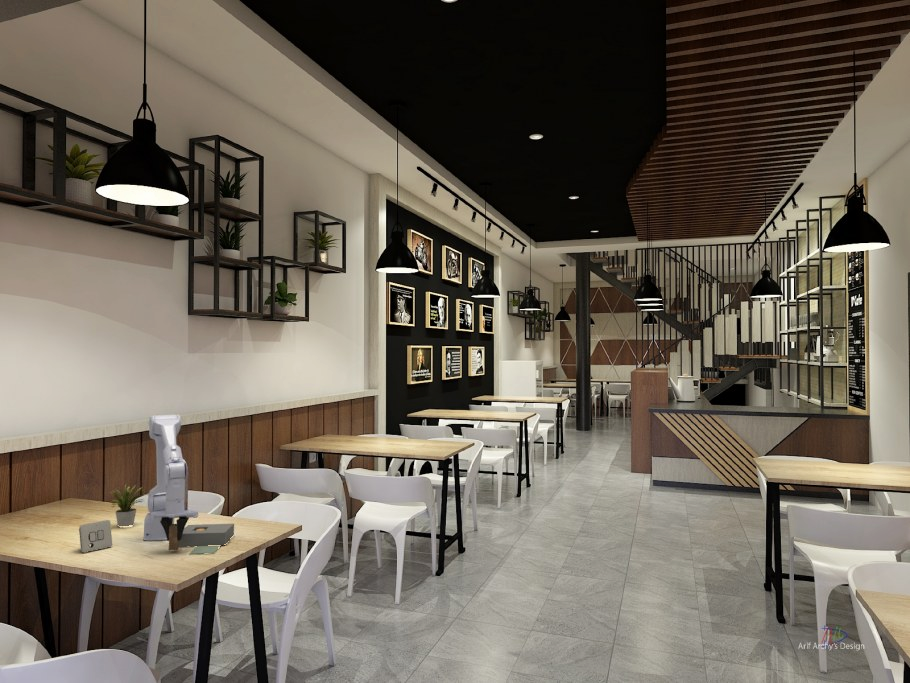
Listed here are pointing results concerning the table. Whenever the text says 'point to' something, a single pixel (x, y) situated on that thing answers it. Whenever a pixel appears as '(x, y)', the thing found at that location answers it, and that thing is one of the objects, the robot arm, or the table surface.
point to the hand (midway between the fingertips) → (174, 539)
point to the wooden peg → (173, 538)
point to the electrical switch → (95, 535)
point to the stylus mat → (204, 549)
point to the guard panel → (206, 534)
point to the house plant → (126, 506)
